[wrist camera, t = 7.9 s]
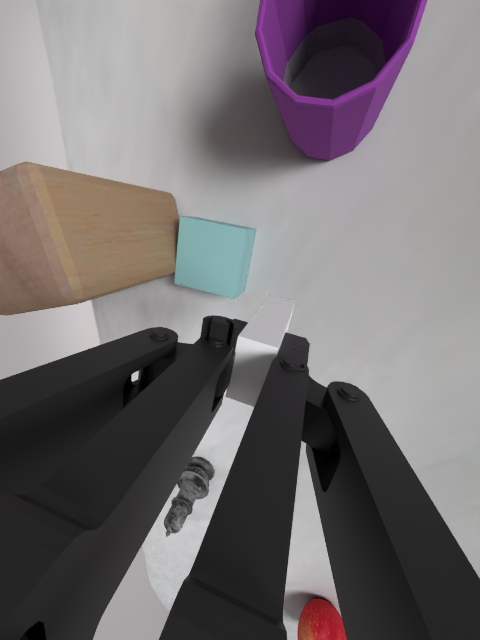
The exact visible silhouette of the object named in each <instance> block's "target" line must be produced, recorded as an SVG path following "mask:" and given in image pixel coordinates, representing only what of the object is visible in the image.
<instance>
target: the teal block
mask: <svg viewBox="0 0 480 640" xmlns="http://www.w3.org/2000/svg"><path fill="white" fill-rule="evenodd" d="M255 234H256V229H254V228H249V227H244V226H239V225H234V224H228V223H223V222H218V221H213V220H208V219H203V218H198V217H185V216H180V222H179V233H178V245H177V256H176V268H175V279H174V284H177V285H181V286H185V287H189V288H193V289H197V290H201V291H205V292H209V293H213V294H217V295H221V296H225V297H229V298H233V299H235V298H236V297H238V296H239V295H240V294H241V293H243V292H244V291H245V288H246V282H247V277H248V272H249V266H250V261H251V255H252V250H253V244H254V239H255Z"/></svg>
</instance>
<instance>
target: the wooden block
mask: <svg viewBox="0 0 480 640" xmlns="http://www.w3.org/2000/svg"><path fill="white" fill-rule="evenodd" d="M179 222H180V219H179V215H178V211H177V207H176V203H175V199H174V197H173V196H172V194H171V193H167V192H163V191H158V190H154V189H149V188H145V187H140V186H135V185H131V184H126V183H122V182H117V181H113V180H108V179H103V178H99V177H94V176H90V175H85V174H81V173H76V172H71V171H67V170H62V169H58V168H53V167H48V166H44V165H39V164H35V163H29V162H23V163H20V164H17V165H14V166H12V167H9V168H7V169H5V170H2V171H0V315H13V314H19V313H25V312H31V311H37V310H43V309H49V308H55V307H61V306H67V305H73V304H78V303H81V302H85V301H87V300H91V299H94V298H97V297H101V296H104V295H107V294H110V293H114V292H117V291H120V290H123V289H126V288H130V287H133V286H136V285H139V284H142V283H146V282H149V281H152V280H155V279H158V278H162V277H165V276H168V275H171V274H175V268H176V256H177V245H178V233H179Z"/></svg>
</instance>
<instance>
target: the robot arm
mask: <svg viewBox="0 0 480 640" xmlns="http://www.w3.org/2000/svg"><path fill="white" fill-rule="evenodd" d="M295 302H296V301H293V300H289V299H286V298H282V297H278V296H274V295H269V297H268V298H267V299H266V301H265V302H264V303H263V304H262V306H261V307H260V308H259V310H258V311H257V312H256V314H255V315H254V316H253V317H252V319H251V320H250V321H249V323H248V322H244V321H241V320H237V319H233V320H232V319H229V318H226V317H222V316H207V317H204V318H203V324H202V331H201V337H200V339H198V340H197V341H196V342H195V343H194V344H186V343H179V342H178V335H177V333H176V332H174V331H173V330H170V329H168V328H163V327H158V328H149V329H145V330H143V331H140V332H137V333H134V334H131V335H128V336H125V337H122V338H120V339H117V340H114V341H111V342H108V343H105V344H102V345H99V346H97V347H94V348H91V349H88V350H85V351H82V352H79V353H76V354H73V355H71V356H68V357H65V358H62V359H59V360H56V361H53V362H51V363H48V364H45V365H42V366H39V367H36V368H33V369H30V370H27V371H24V372H22V373H19V374H16V375H13V376H10V377H8V378H5V379H2V380H0V640H93V637H94V634H95V631H96V628H97V626H98V624H99V621H100V619H101V617H102V615H103V613H104V611H105V609H106V607H107V605H108V604H109V602H110V600H111V599H112V597H113V595H114V593H115V591H116V590H117V588H118V586H119V584H120V582H121V581H122V579H123V577H124V576H125V574H126V572H127V570H128V568H129V567H130V565H131V563H132V561H133V560H134V558H135V556H136V554H137V552H138V551H139V549H140V547H141V546H142V544H143V542H144V540H145V538H146V537H147V535H148V533H149V531H150V530H151V528H152V526H153V524H154V523H155V521H156V519H157V517H158V516H159V514H160V512H161V510H162V508H163V507H164V505H165V503H166V501H167V500H168V498H169V496H170V494H171V493H172V491H173V489H174V487H175V485H176V484H177V482H178V480H179V478H180V477H181V475H182V473H183V471H184V470H185V468H186V466H187V464H188V463H189V461H190V459H191V457H192V455H193V454H194V452H195V450H196V448H197V447H198V445H199V443H200V441H201V440H202V438H203V436H204V434H205V433H206V431H207V429H208V427H209V425H210V424H211V422H212V420H213V418H214V417H215V415H216V413H217V411H218V410H219V408H220V406H221V404H222V400H223V395H224V392H225V390H226V389H227V393H226V397H228V398H231V399H234V400H237V401H239V402H242V403H245V404H248V405H251V406H254V410H253V412H252V415H251V417H250V420H249V422H248V425H247V428H246V430H245V433H244V435H243V438H242V440H241V443H240V446H239V448H238V451H237V453H236V456H235V459H234V461H233V464H232V466H231V469H230V471H229V474H228V477H227V479H226V482H225V484H224V487H223V490H222V492H221V495H220V497H219V500H218V502H217V505H216V508H215V510H214V513H213V515H212V518H211V521H210V523H209V526H208V528H207V531H206V533H205V536H204V539H203V541H202V544H201V546H200V549H199V552H198V554H197V557H196V559H195V562H194V564H193V567H192V569H191V571H190V573H189V575H188V576H187V577H186V579H185V580H184V582H183V584H182V586H181V588H180V590H179V592H178V594H177V597H176V599H175V601H174V604H173V606H172V608H171V611H170V613H169V616H168V618H167V621H166V623H165V626H164V628H163V631H162V633H161V636H160V638H159V640H287V631H286V629H285V626H284V624H283V603H284V594H285V584H286V575H287V566H288V557H289V548H290V539H291V530H292V521H293V512H294V502H295V493H296V484H297V475H298V466H299V457H300V448H301V440H302V441H303V442H305V443H306V454H307V458H308V463H309V468H310V472H311V477H312V482H313V486H314V491H315V495H316V500H317V505H318V509H319V514H320V519H321V523H322V528H323V533H324V537H325V542H326V547H327V551H328V556H329V560H330V565H331V570H332V574H333V579H334V584H335V588H336V593H337V598H338V602H339V607H340V611H341V616H342V621H343V625H344V630H345V635H346V639H347V640H480V579H479V577H478V575H477V574H476V572H475V570H474V569H473V567H472V565H471V564H470V562H469V561H468V559H467V557H466V556H465V554H464V552H463V551H462V549H461V548H460V546H459V544H458V543H457V541H456V539H455V538H454V536H453V534H452V533H451V531H450V530H449V528H448V526H447V525H446V523H445V521H444V520H443V518H442V516H441V515H440V513H439V512H438V510H437V508H436V507H435V505H434V503H433V502H432V500H431V499H430V497H429V495H428V494H427V492H426V490H425V489H424V487H423V485H422V484H421V482H420V481H419V479H418V477H417V476H416V474H415V472H414V471H413V469H412V468H411V466H410V464H409V463H408V461H407V459H406V458H405V456H404V454H403V453H402V451H401V450H400V448H399V446H398V445H397V443H396V441H395V440H394V438H393V436H392V435H391V433H390V432H389V430H388V428H387V427H386V425H385V423H384V422H383V420H382V419H381V417H380V415H379V414H378V412H377V410H376V409H375V407H374V405H373V404H372V402H371V401H370V399H369V397H368V396H367V395H366V394H365V393H364V392H363V391H362V390H360V389H359V388H358V387H356V386H353V385H352V384H350V383H345V382H338V381H335V382H331V383H330V384H329V385H328V387H327V388H326V387H324V386H322V385H321V384H319V383H317V382H316V381H314V380H313V379H312V378H311V377H310V376H309V369H308V367H307V362H308V353H309V345H310V344H309V342H308V341H307V339H306V338H303V337H300V336H296V335H293V334H289V333H287V330H288V327H289V323H290V320H291V316H292V312H293V309H294V305H295ZM138 370H139V376H138V380H136V381H134V382H132V381H131V375H132V374H133V373H134V372H136V371H138ZM227 387H228V388H227Z"/></svg>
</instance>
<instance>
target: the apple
mask: <svg viewBox="0 0 480 640" xmlns="http://www.w3.org/2000/svg"><path fill="white" fill-rule="evenodd" d="M298 640H347V639H346V635H345V630H344V625H343V621H342V618H341V616H340V614H339V612H338V611H337V610H336V608H335V607H334V606H333V605H332V604H331V603H329V602H328V601H326V600H323V599H313V600H311V601H309V602H308V603H307V604H306V606H305V607H304V609H303V611H302V613H301V616H300V619H299V623H298Z"/></svg>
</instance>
